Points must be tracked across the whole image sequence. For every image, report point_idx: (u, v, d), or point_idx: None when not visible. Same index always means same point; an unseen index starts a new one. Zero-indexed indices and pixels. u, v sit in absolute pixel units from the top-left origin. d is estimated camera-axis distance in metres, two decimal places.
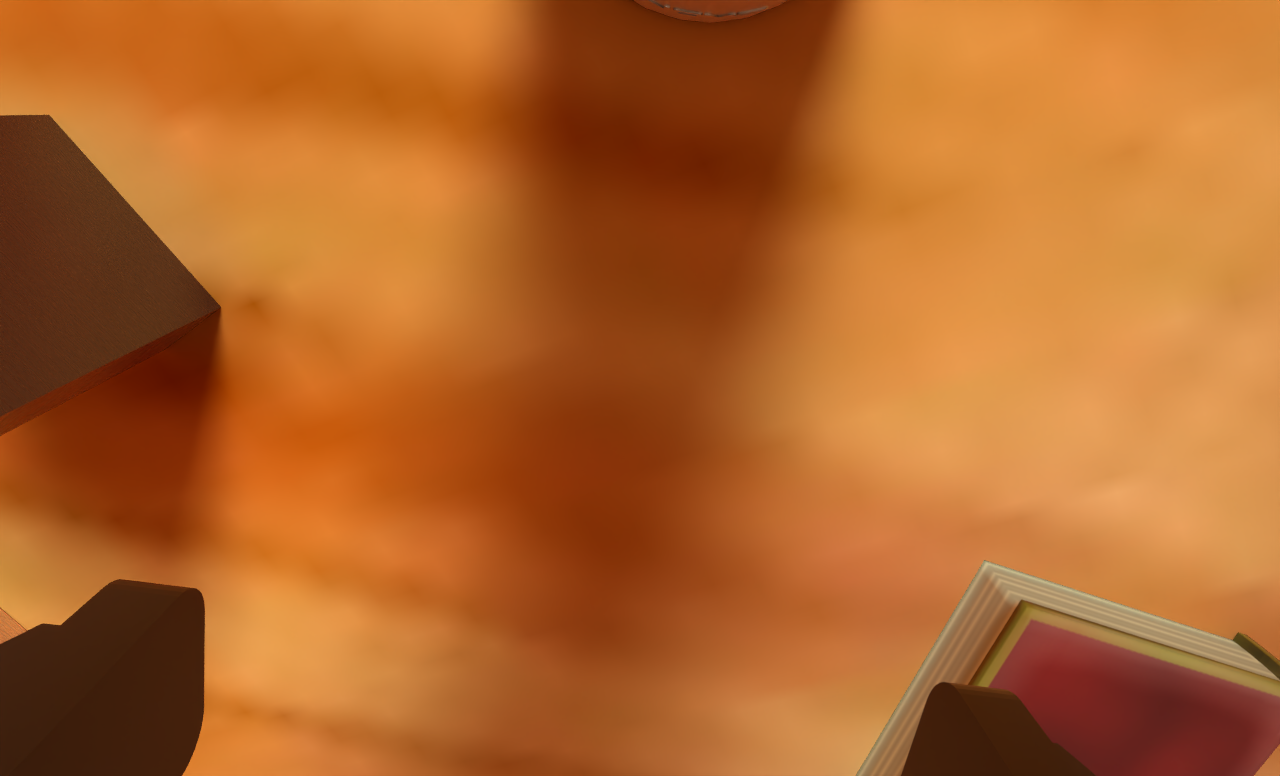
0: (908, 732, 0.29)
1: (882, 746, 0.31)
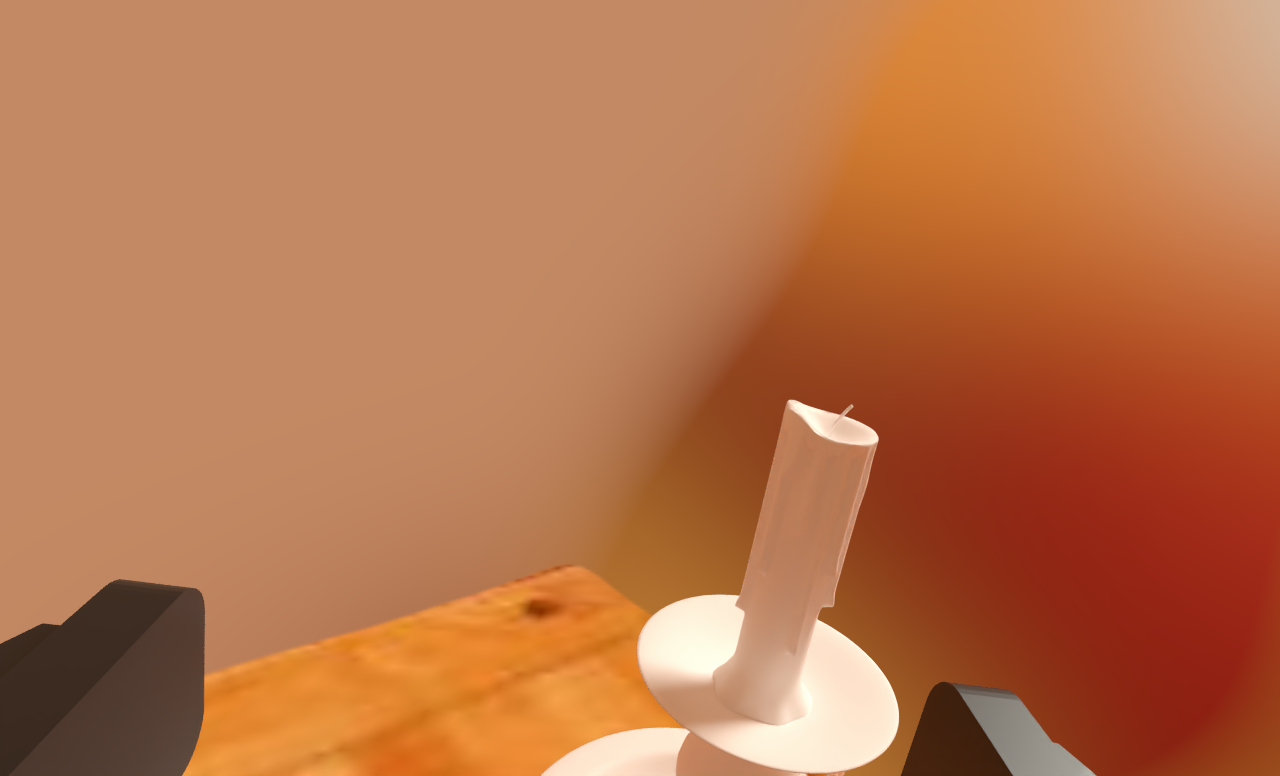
0: None
1: None
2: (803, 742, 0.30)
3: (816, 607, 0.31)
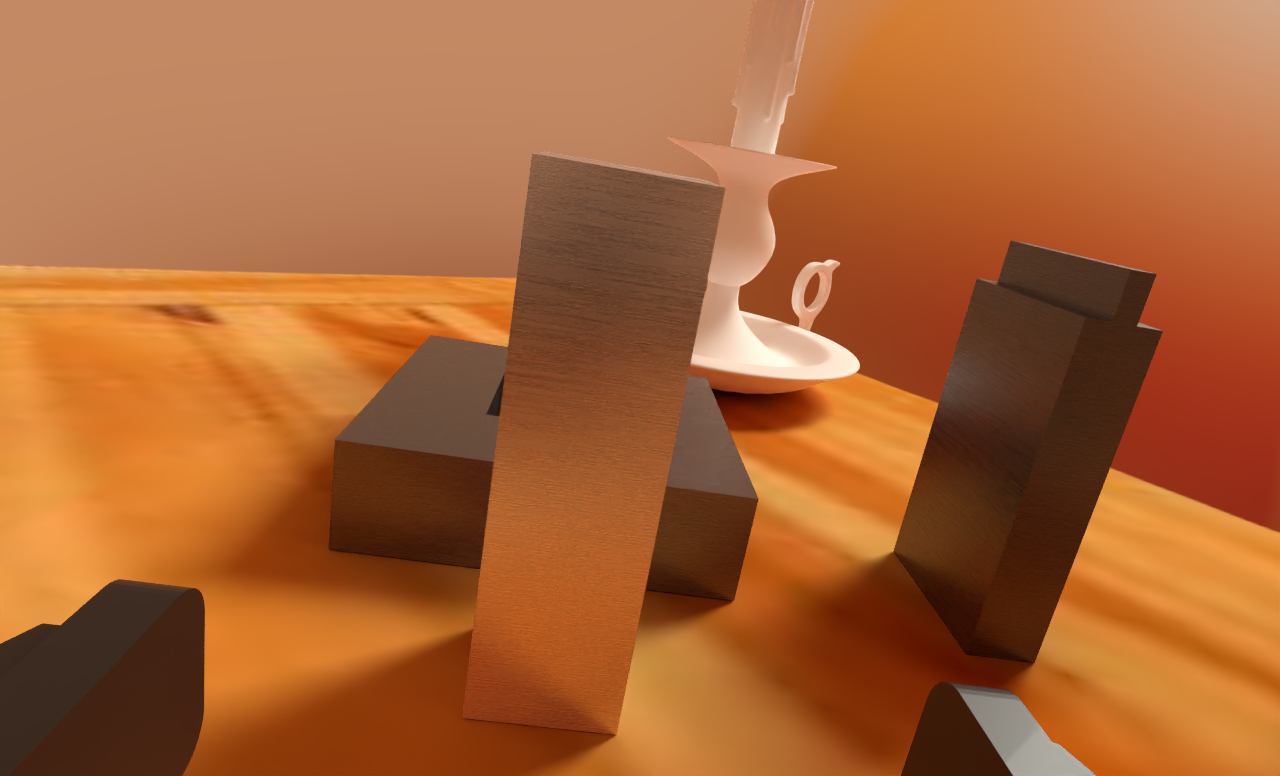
0: None
1: None
2: None
3: (783, 90, 0.49)
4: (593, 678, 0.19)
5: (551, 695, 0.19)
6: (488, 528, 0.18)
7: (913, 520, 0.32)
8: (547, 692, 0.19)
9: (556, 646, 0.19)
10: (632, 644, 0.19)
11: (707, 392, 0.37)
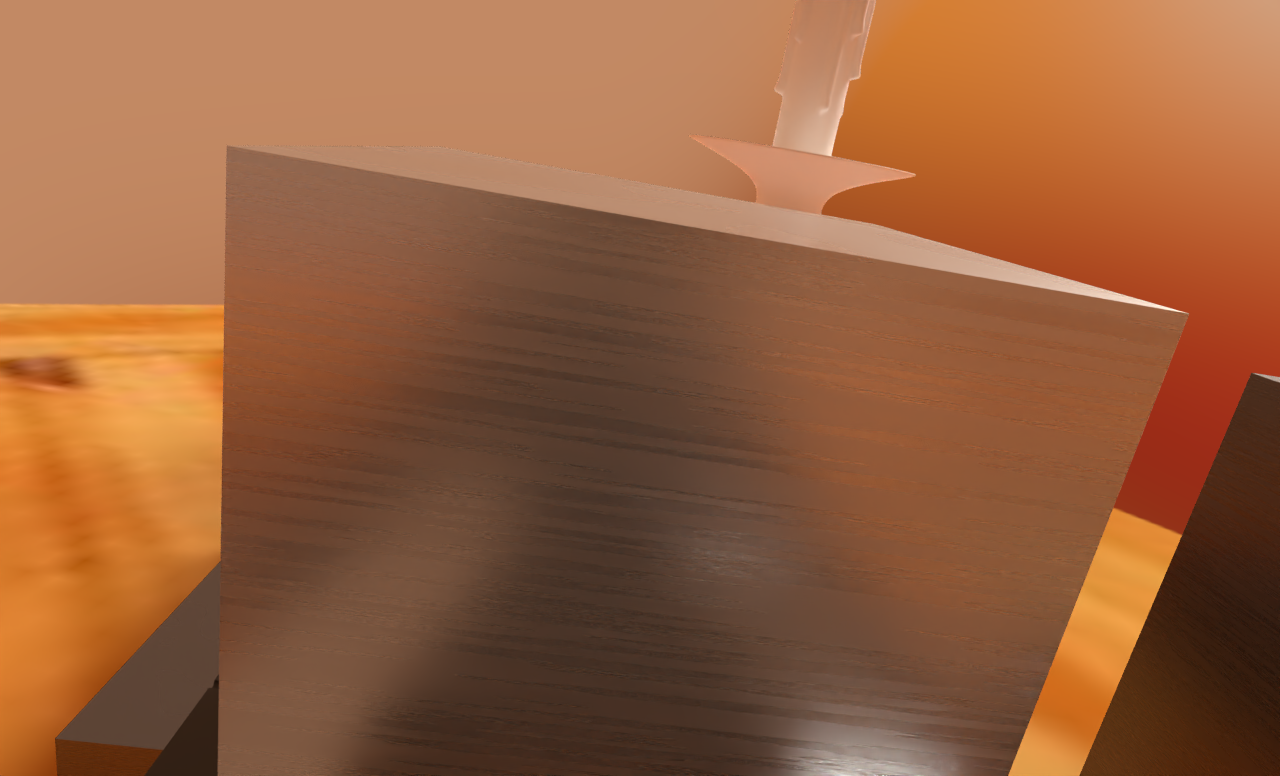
0: None
1: None
2: None
3: (845, 71, 0.36)
4: None
5: None
6: None
7: (1117, 764, 0.19)
8: None
9: None
10: None
11: None
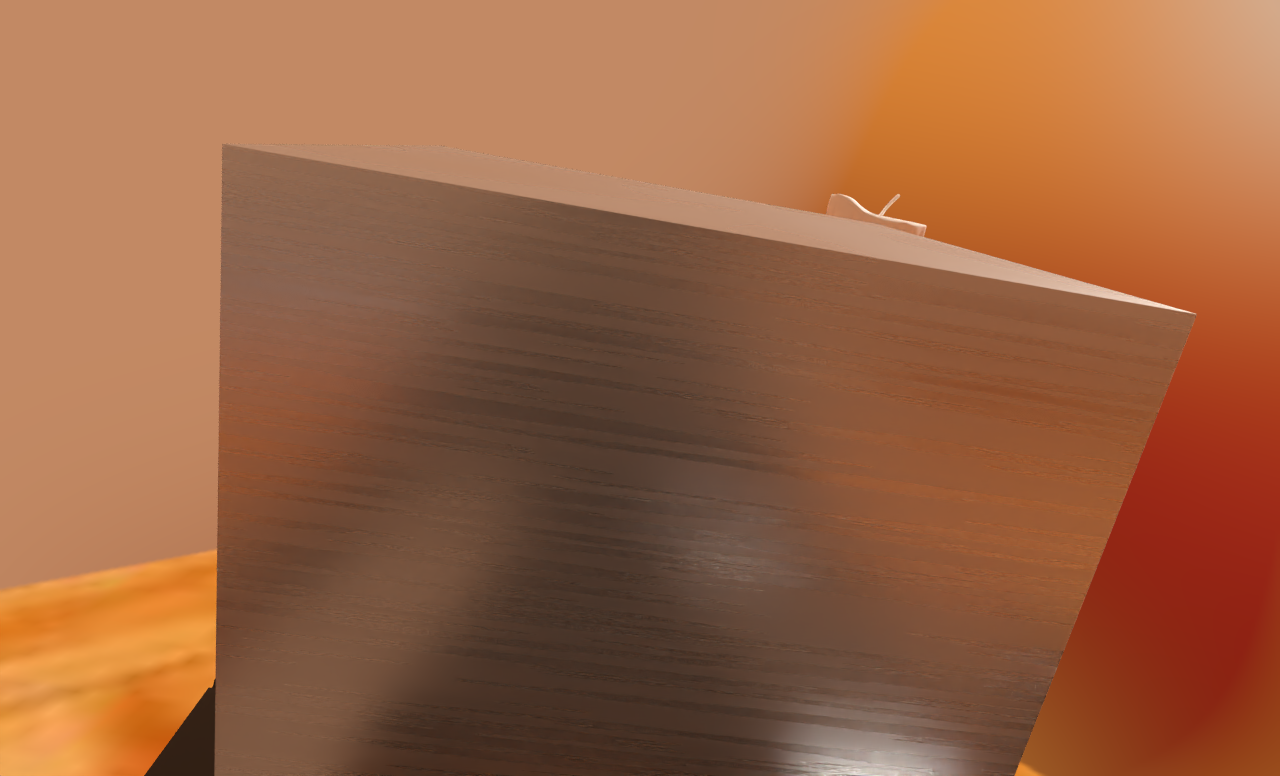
0: None
1: None
2: None
3: None
4: None
5: None
6: None
7: None
8: None
9: None
10: None
11: None
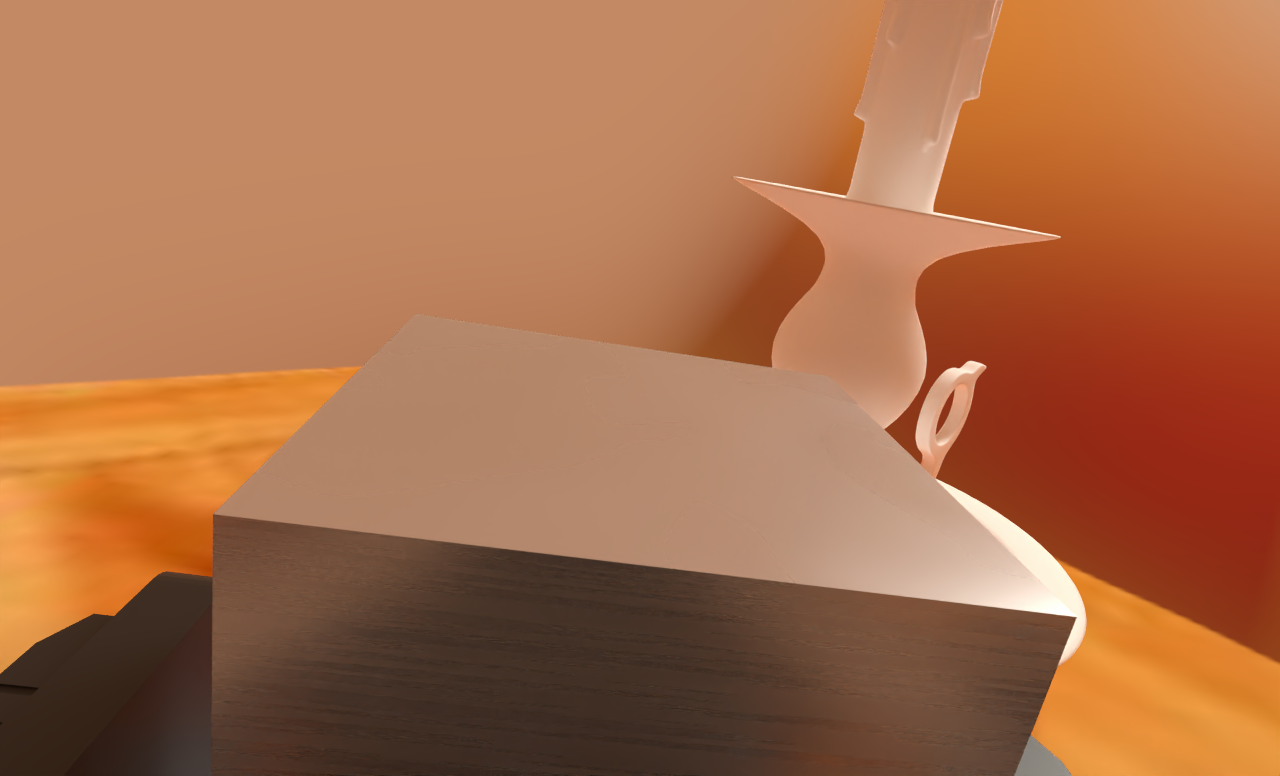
0: None
1: None
2: None
3: (960, 89, 0.25)
4: None
5: None
6: None
7: None
8: None
9: None
10: None
11: None
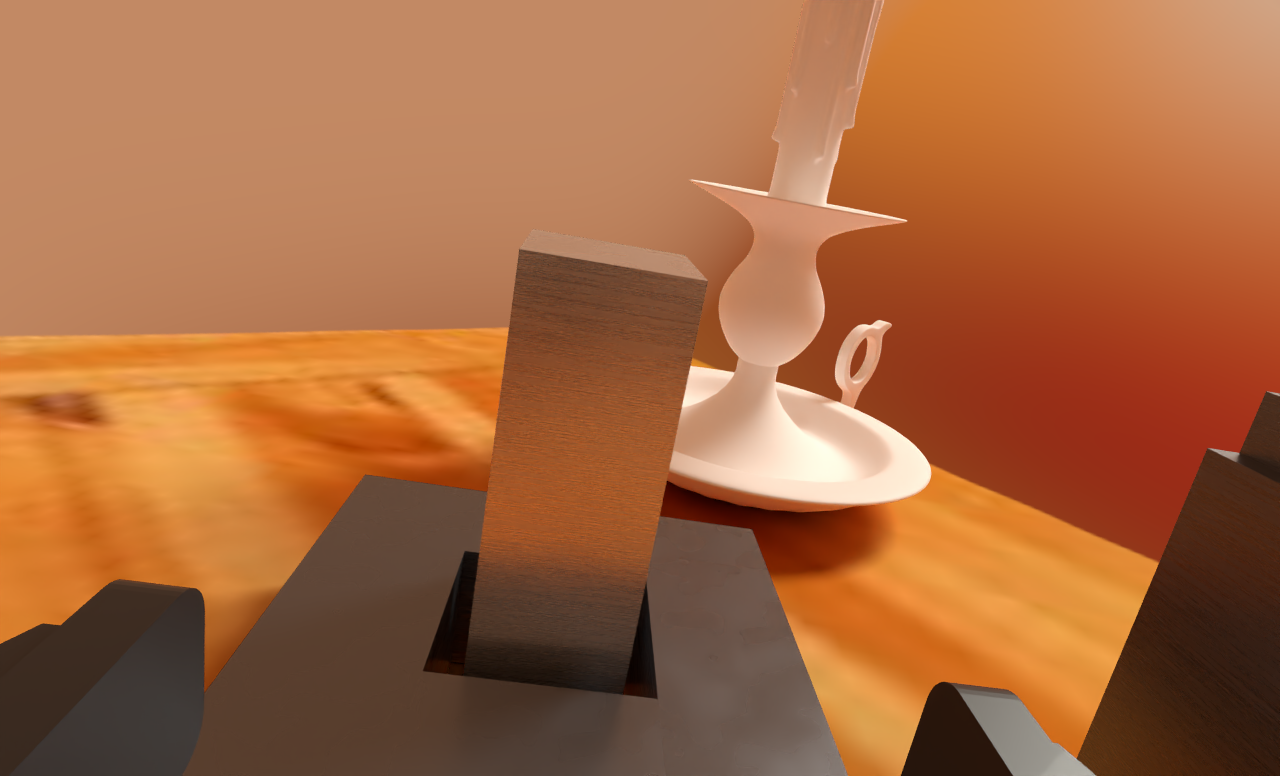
0: None
1: None
2: None
3: (839, 122, 0.38)
4: None
5: None
6: (475, 604, 0.18)
7: None
8: None
9: None
10: None
11: (758, 564, 0.26)
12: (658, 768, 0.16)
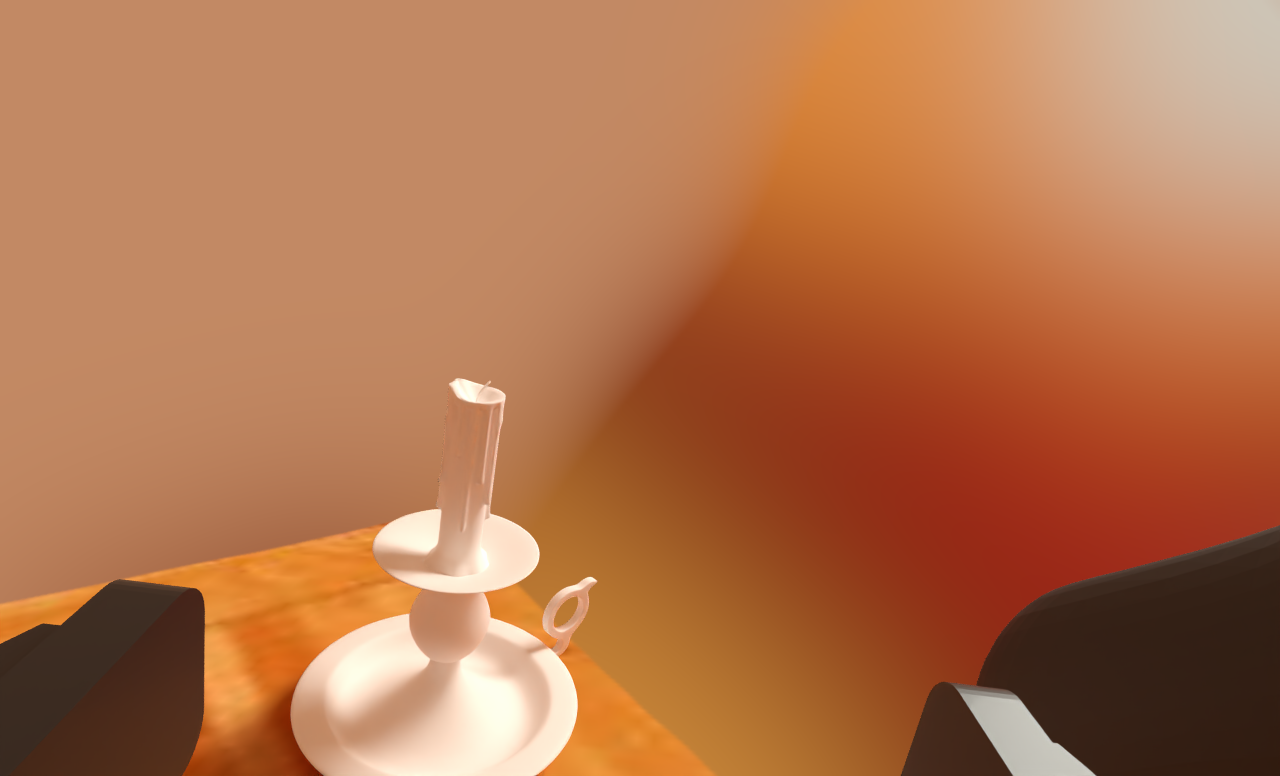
0: None
1: None
2: (461, 582, 0.50)
3: (476, 504, 0.52)
4: None
5: None
6: None
7: None
8: None
9: None
10: None
11: None
12: None
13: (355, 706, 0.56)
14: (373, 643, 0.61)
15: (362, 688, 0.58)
